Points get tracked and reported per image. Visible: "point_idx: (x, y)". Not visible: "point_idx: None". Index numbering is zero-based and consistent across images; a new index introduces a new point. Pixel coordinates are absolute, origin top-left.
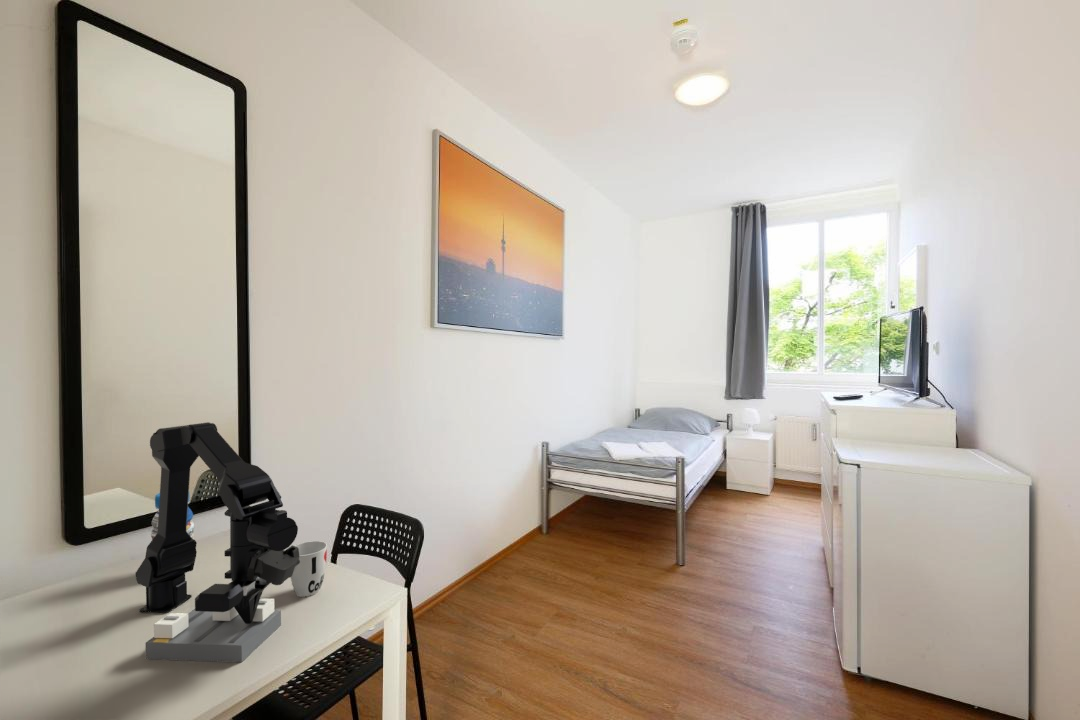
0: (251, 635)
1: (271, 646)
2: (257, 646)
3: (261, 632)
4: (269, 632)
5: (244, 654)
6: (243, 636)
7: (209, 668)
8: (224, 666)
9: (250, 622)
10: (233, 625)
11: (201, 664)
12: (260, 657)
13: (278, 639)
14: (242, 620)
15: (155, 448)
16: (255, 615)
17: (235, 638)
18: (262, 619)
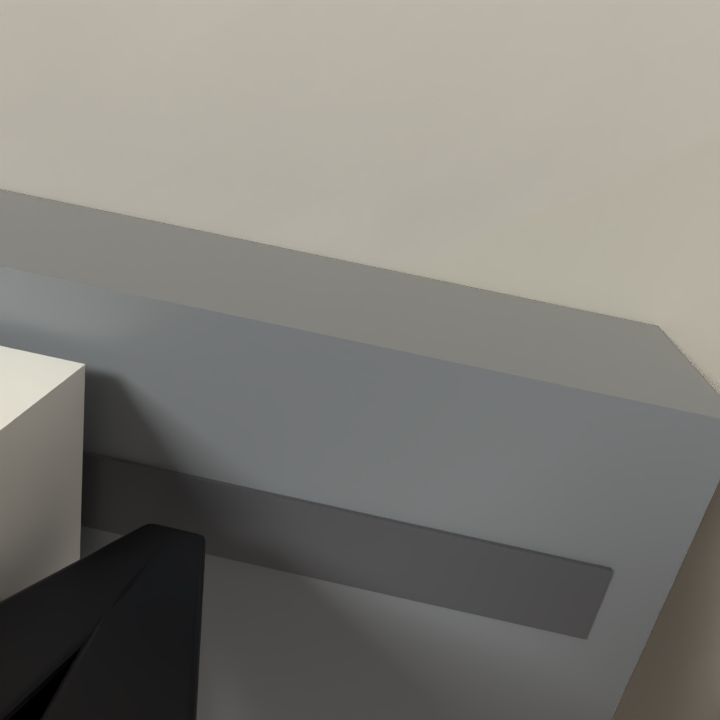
0: (457, 385)
1: (374, 81)
2: (374, 269)
3: (261, 290)
4: (121, 227)
5: (630, 338)
6: (463, 496)
7: (665, 604)
8: None
9: (198, 541)
10: None
11: None
12: (609, 126)
13: (219, 51)
14: None
15: None
16: (22, 543)
17: (510, 584)
18: (65, 382)
